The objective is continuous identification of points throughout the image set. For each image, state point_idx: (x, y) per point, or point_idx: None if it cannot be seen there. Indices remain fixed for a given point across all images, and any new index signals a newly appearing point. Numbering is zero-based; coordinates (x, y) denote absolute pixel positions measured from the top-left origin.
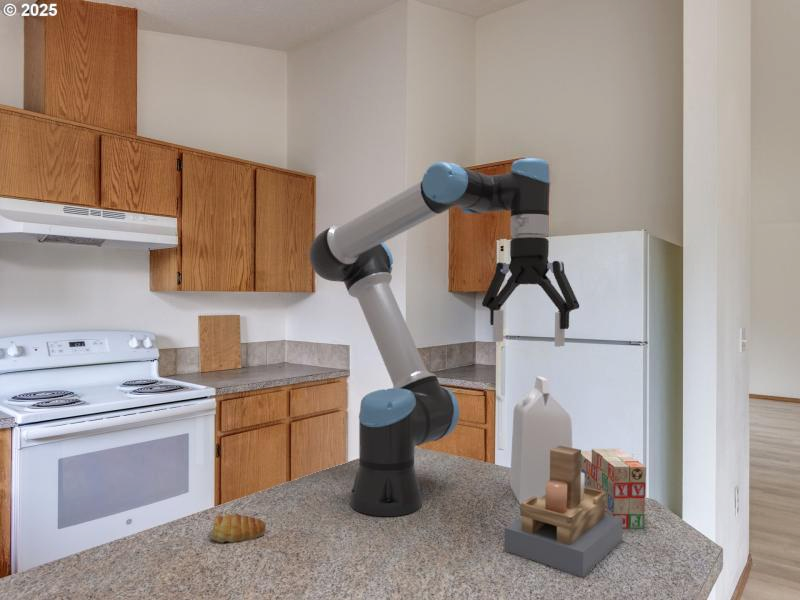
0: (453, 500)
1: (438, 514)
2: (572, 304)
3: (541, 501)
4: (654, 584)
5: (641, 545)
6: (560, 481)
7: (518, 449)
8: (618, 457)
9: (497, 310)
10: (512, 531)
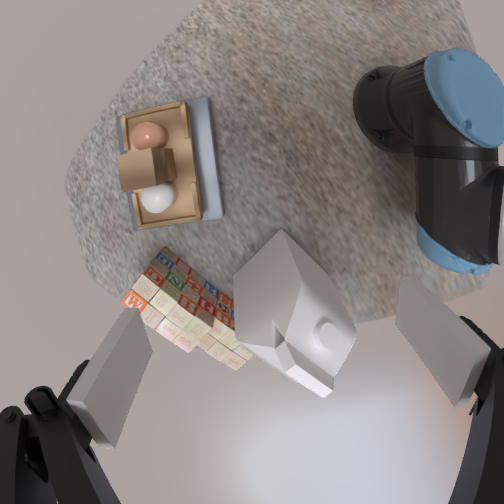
0: (348, 175)
1: (330, 124)
2: (2, 420)
3: (183, 146)
4: (84, 162)
5: (126, 229)
6: (146, 148)
7: (308, 269)
8: (162, 314)
9: (474, 361)
10: (196, 98)
